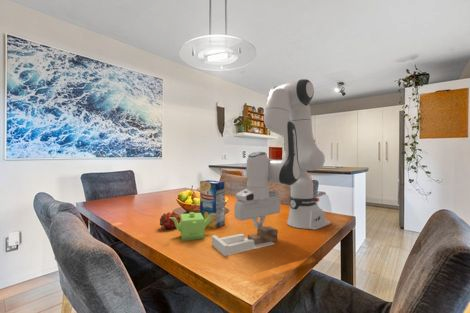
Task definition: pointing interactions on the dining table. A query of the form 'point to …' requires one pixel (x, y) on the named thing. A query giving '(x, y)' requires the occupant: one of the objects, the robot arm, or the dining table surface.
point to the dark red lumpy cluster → (169, 220)
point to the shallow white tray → (236, 244)
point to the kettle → (191, 226)
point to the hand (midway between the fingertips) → (258, 227)
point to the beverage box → (213, 202)
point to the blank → (264, 235)
